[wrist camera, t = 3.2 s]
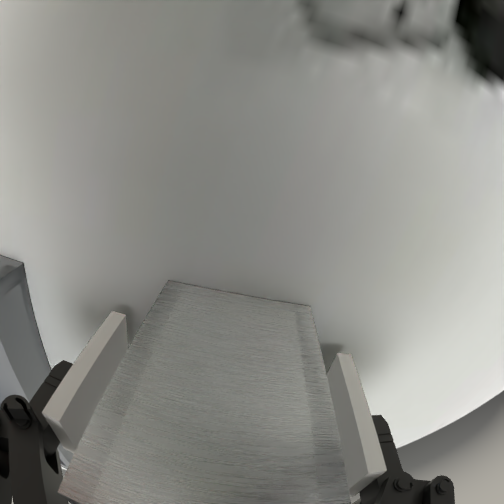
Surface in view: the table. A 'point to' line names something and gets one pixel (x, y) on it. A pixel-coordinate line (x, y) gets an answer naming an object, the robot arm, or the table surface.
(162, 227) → the table surface
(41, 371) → the tray
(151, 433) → the u-shaped arch block
